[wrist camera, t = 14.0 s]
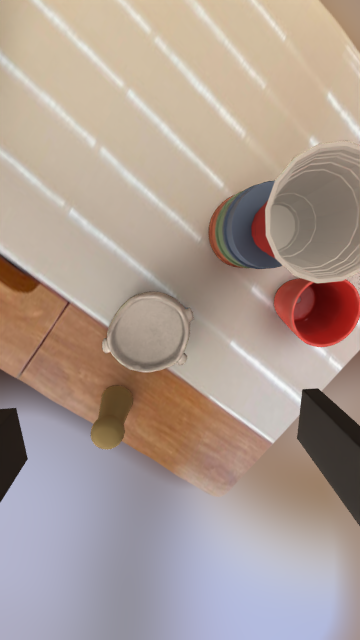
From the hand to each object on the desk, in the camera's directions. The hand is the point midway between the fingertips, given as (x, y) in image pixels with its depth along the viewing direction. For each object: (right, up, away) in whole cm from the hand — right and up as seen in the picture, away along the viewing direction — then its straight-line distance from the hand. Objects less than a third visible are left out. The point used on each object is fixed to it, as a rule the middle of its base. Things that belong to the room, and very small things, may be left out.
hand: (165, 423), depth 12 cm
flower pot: (+22, +9, +36) cm, 42 cm away
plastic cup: (+12, +16, +20) cm, 29 cm away
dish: (-4, +3, +35) cm, 35 cm away
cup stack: (+11, +20, +32) cm, 39 cm away
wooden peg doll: (-11, -10, +38) cm, 41 cm away
